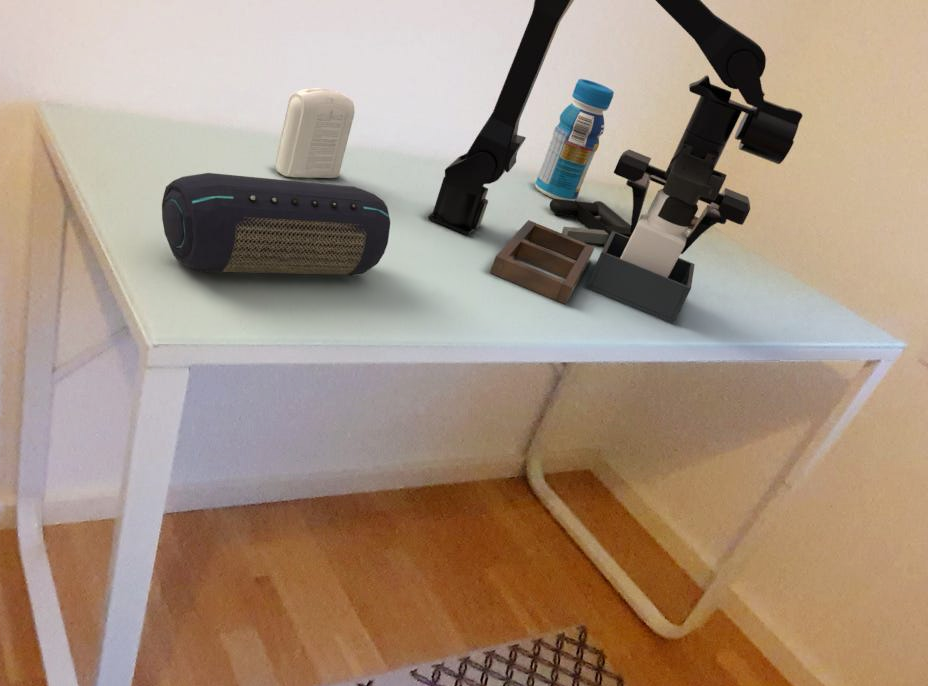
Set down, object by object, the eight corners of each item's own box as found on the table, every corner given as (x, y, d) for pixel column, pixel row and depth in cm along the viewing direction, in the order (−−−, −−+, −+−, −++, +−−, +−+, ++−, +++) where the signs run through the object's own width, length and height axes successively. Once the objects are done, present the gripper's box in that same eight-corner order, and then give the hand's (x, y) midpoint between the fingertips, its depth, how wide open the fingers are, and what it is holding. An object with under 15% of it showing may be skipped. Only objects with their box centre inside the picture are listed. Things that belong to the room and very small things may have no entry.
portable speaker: (177, 289, 84) (192, 194, 79) (147, 243, 91) (159, 153, 86) (390, 291, 99) (414, 212, 94) (352, 251, 106) (372, 175, 101)
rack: (489, 272, 114) (495, 256, 113) (522, 234, 132) (528, 219, 130) (565, 304, 113) (572, 288, 111) (588, 261, 130) (595, 247, 129)
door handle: (588, 242, 130) (670, 249, 137) (531, 191, 145) (608, 199, 152) (581, 262, 132) (662, 268, 139) (525, 209, 146) (602, 217, 153)
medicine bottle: (666, 274, 126) (705, 200, 120) (661, 289, 120) (703, 211, 114) (622, 254, 127) (659, 179, 121) (615, 267, 121) (654, 189, 114)
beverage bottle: (524, 183, 156) (564, 74, 146) (552, 184, 162) (592, 78, 152) (557, 203, 152) (600, 92, 142) (585, 203, 158) (628, 96, 148)
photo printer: (325, 168, 129) (344, 86, 123) (342, 180, 127) (363, 97, 121) (269, 167, 122) (286, 81, 116) (286, 180, 120) (305, 92, 114)
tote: (585, 287, 120) (601, 252, 118) (597, 263, 131) (612, 230, 128) (673, 324, 119) (691, 288, 116) (678, 297, 129) (694, 263, 127)
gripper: (634, 118, 107) (586, 231, 115) (774, 174, 105) (716, 285, 113) (642, 108, 117) (598, 213, 125) (771, 158, 115) (718, 262, 123)
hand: (655, 243), depth 121 cm, fingers closed on medicine bottle, 7 cm apart
